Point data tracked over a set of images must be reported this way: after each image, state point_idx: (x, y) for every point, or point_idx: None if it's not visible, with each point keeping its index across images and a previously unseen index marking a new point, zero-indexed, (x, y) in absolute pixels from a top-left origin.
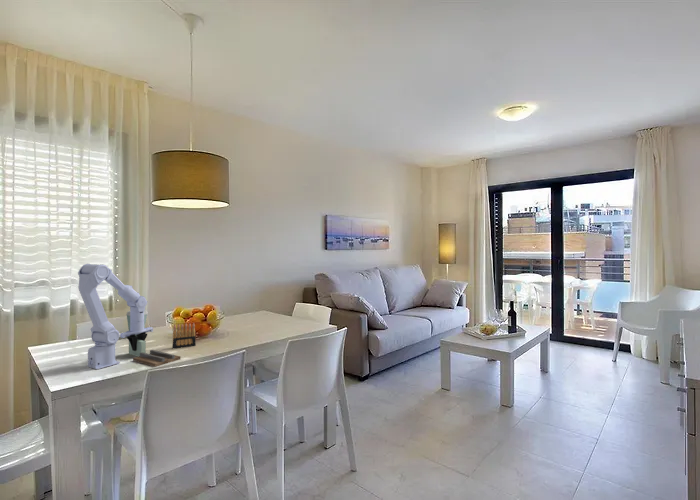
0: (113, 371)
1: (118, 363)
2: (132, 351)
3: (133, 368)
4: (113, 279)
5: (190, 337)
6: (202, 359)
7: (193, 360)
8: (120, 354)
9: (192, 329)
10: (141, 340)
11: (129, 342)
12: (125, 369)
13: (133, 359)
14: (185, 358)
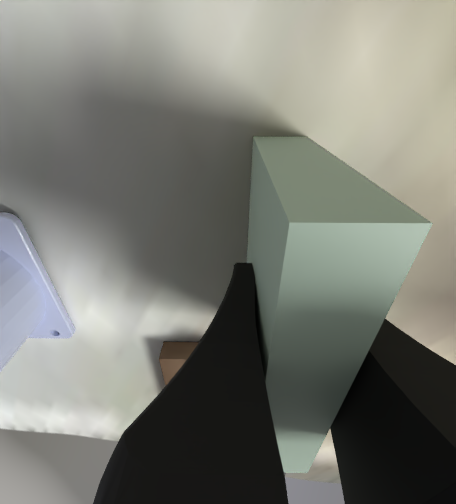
0: (22, 392)
1: (64, 334)
2: (251, 228)
3: (112, 414)
4: None
5: None
6: (335, 477)
7: (313, 470)
8: (179, 58)
9: None
10: (310, 442)
11: (271, 215)
12: (78, 404)
13: (162, 351)
14: (325, 450)
